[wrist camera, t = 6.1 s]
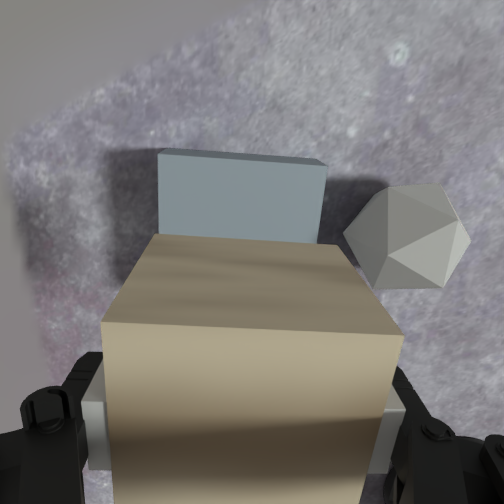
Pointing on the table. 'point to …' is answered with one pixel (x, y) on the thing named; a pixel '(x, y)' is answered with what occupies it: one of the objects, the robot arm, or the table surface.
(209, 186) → the plinth
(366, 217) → the die
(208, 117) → the table surface
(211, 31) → the table surface
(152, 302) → the maple block
